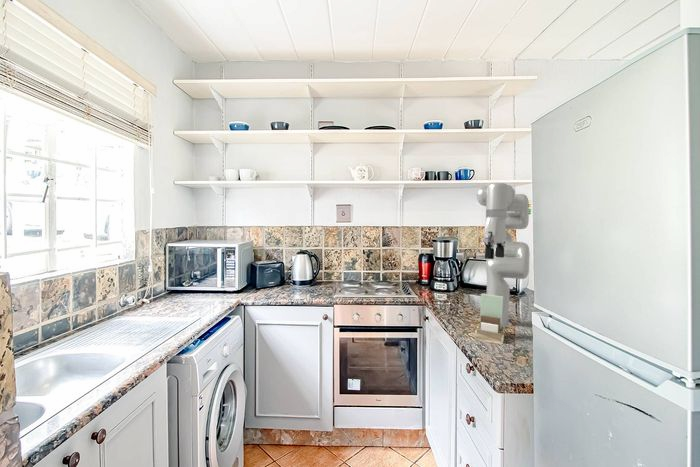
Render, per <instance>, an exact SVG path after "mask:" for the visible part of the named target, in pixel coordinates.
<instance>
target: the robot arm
mask: <svg viewBox="0 0 700 467" xmlns="http://www.w3.org/2000/svg"><path fill="white" fill-rule="evenodd" d="M476 199H477V201H478V202H477V203H479V205H481V206H484V207H485V210H486V211H485V223H484V231H483V242H484V258H485V259H486V261H485V271H486V272H485V273H486V294H488V295H496V296H503V313H502V327H503V328H504V327H506V328H507V327H510V326H512V325H513V324H512V323H511V322H510V321H509V313H510V312H509V311H510V293H511V292H510V291H511V290H510V285H509V284H508V283H509V282H507V281H506V280H505V279H516V280H524V279H526V278H527V277H528V275H529V272H530V247H529V245H528V244H527V243H525V242H523V241H513V237H512V235H511V233H510V232H508V230H524V229H527V227H528V225H529V223H530V222H529V219H530V218H529V217H530V205H529V204H530V203H529V198H528V196H527V195H526V194H524V193H516V190H515V189H514V187H513V186H511V185H509V184H507V183H503V182H493V183H489V184H488V185H481V186H479V188H477V192H476Z"/></svg>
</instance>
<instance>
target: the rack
mask: <svg viewBox="0 0 700 467" xmlns="http://www.w3.org/2000/svg"><path fill="white" fill-rule="evenodd" d="M476 326H477V327H476V329H475V331H474V339H475V340H479V341H484V342H490V343H495V344H499V345H504V340H505V329H504V327H502V329H500V331H498V333H495V332H490V331H484V330H481V328H480V322H479V323H478V324H477V325H476Z"/></svg>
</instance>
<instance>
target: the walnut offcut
mask: <svg viewBox="0 0 700 467" xmlns="http://www.w3.org/2000/svg"><path fill="white" fill-rule="evenodd" d="M481 322H484V323H490V324H496V325H498V331H500V318H497V317H490V316H484V315H481ZM479 323H480V322H479ZM480 328H481V323H480Z"/></svg>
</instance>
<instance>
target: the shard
mask: <svg viewBox="0 0 700 467" xmlns="http://www.w3.org/2000/svg"><path fill="white" fill-rule="evenodd" d="M467 324H470V325H474V326H478V322H475V321H468V322H467Z"/></svg>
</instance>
